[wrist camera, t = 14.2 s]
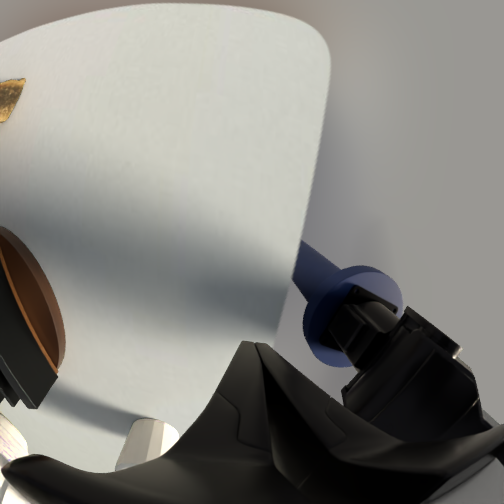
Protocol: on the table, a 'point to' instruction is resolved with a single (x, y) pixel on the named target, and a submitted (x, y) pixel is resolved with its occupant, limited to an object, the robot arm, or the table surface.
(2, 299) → the dish rack
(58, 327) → the base
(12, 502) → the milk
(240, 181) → the table surface
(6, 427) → the paper bowls
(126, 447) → the white faceted cup
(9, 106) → the rock
